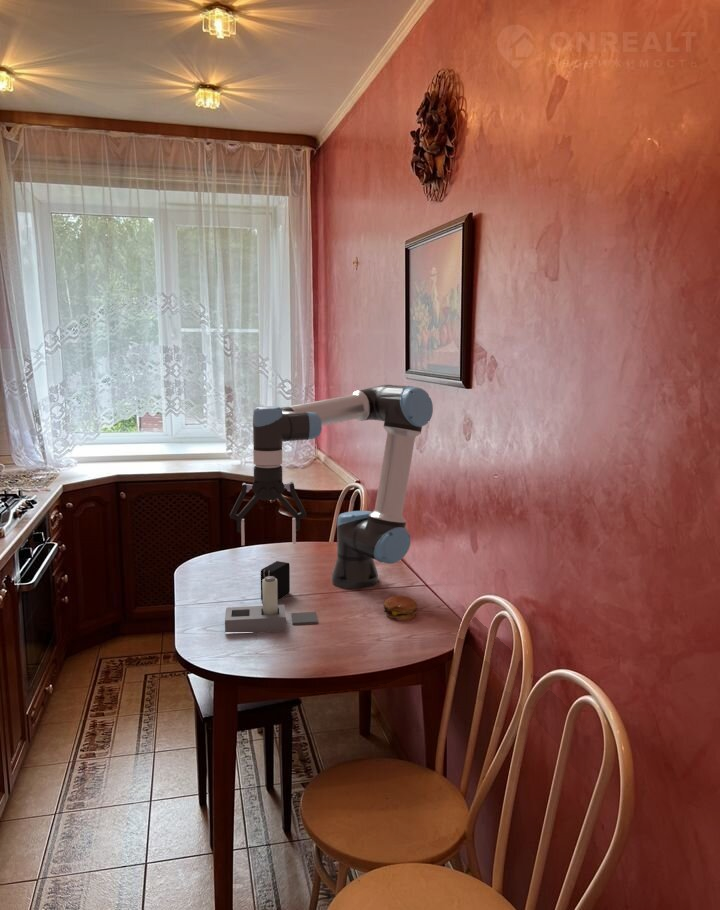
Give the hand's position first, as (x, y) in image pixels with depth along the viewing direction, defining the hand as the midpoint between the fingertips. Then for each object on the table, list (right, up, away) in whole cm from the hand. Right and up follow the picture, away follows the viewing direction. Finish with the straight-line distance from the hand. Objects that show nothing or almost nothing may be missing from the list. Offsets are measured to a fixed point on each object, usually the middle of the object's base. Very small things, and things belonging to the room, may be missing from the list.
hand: (268, 543), depth 182 cm
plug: (0, -23, +4) cm, 23 cm away
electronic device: (-1, -20, +25) cm, 32 cm away
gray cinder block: (-4, -23, +3) cm, 24 cm away
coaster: (+9, -22, +8) cm, 25 cm away
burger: (+36, -22, +12) cm, 44 cm away
